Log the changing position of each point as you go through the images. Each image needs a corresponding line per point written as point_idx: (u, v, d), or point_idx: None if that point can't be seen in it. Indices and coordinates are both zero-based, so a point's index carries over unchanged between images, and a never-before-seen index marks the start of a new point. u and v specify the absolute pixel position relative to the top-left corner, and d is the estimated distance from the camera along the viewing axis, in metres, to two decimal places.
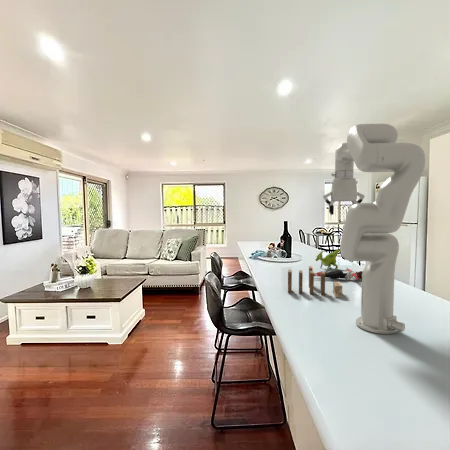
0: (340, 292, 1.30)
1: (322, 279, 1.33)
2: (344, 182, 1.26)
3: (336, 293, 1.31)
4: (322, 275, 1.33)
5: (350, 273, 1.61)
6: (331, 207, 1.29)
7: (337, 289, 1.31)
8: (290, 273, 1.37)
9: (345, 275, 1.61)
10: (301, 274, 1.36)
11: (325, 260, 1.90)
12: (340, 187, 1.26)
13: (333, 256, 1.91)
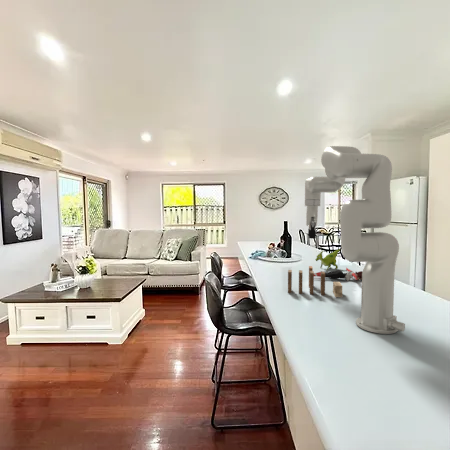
0: (340, 292, 1.30)
1: (322, 279, 1.33)
2: None
3: (336, 293, 1.31)
4: (322, 275, 1.33)
5: (350, 273, 1.61)
6: (309, 230, 1.52)
7: (337, 289, 1.31)
8: (290, 273, 1.37)
9: (345, 275, 1.61)
10: (301, 274, 1.36)
11: (325, 260, 1.90)
12: None
13: (333, 256, 1.91)
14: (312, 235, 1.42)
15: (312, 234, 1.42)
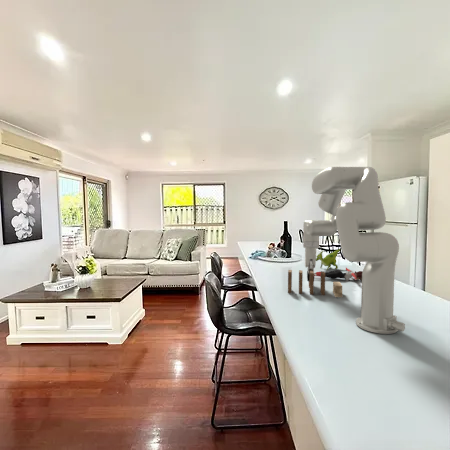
0: (340, 292, 1.30)
1: (322, 279, 1.33)
2: None
3: (336, 293, 1.31)
4: (322, 275, 1.33)
5: (349, 273, 1.61)
6: None
7: (337, 289, 1.31)
8: (290, 273, 1.37)
9: (344, 275, 1.61)
10: (301, 274, 1.36)
11: (325, 260, 1.90)
12: None
13: (333, 256, 1.91)
14: None
15: None
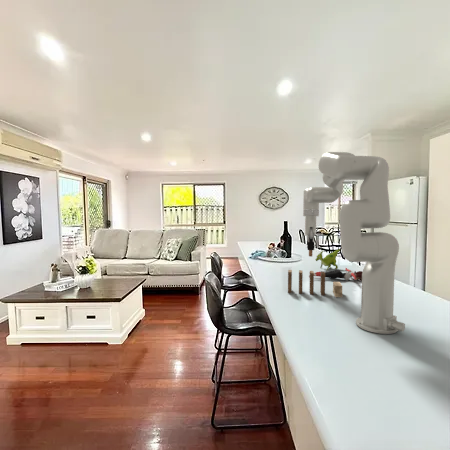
0: (340, 292, 1.30)
1: (322, 279, 1.33)
2: None
3: (336, 293, 1.31)
4: (322, 275, 1.33)
5: (349, 273, 1.61)
6: None
7: (337, 289, 1.31)
8: (290, 273, 1.37)
9: (344, 275, 1.61)
10: (301, 274, 1.36)
11: (325, 260, 1.90)
12: None
13: (333, 256, 1.91)
14: (310, 247, 1.44)
15: (310, 246, 1.44)
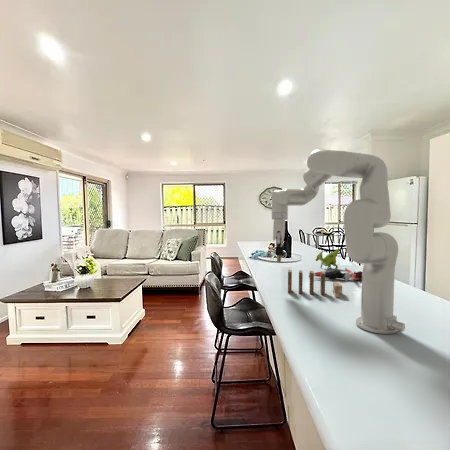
0: (340, 292, 1.30)
1: (322, 279, 1.33)
2: None
3: (336, 293, 1.31)
4: (322, 275, 1.33)
5: (348, 273, 1.61)
6: None
7: (337, 289, 1.31)
8: (290, 273, 1.37)
9: (343, 275, 1.61)
10: (301, 274, 1.36)
11: (325, 260, 1.90)
12: None
13: (333, 256, 1.91)
14: (278, 252, 1.36)
15: (278, 251, 1.36)
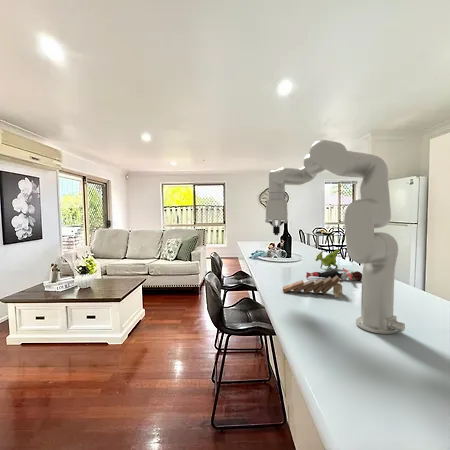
0: (340, 292, 1.30)
1: (334, 282, 1.32)
2: None
3: (336, 293, 1.31)
4: (337, 279, 1.32)
5: (345, 273, 1.61)
6: None
7: (337, 289, 1.31)
8: (312, 284, 1.35)
9: (340, 275, 1.61)
10: (322, 283, 1.34)
11: (325, 260, 1.90)
12: None
13: (333, 256, 1.91)
14: (273, 231, 1.40)
15: (273, 230, 1.40)
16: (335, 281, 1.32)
